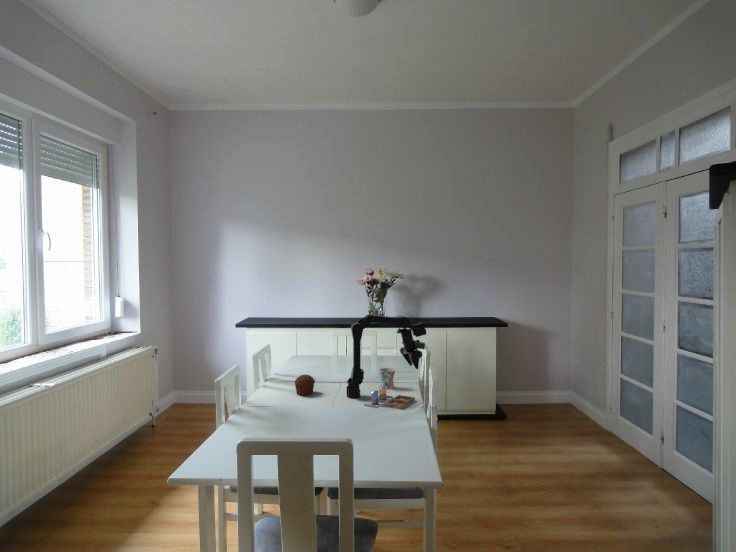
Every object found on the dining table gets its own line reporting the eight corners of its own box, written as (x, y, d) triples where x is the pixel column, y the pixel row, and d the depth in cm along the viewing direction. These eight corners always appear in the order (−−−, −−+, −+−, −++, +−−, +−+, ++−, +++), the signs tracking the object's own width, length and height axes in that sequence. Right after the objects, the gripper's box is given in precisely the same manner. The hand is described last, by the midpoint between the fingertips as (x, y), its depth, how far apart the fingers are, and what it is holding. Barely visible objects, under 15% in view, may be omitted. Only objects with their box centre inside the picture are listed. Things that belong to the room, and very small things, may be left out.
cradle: (364, 407, 225) (363, 403, 225) (381, 397, 241) (381, 394, 241) (376, 409, 222) (376, 406, 222) (393, 399, 237) (393, 396, 237)
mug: (378, 386, 262) (378, 368, 262) (394, 385, 263) (394, 367, 263) (380, 392, 250) (380, 373, 250) (397, 391, 251) (397, 372, 251)
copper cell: (378, 400, 234) (378, 386, 234) (381, 398, 237) (381, 384, 237) (384, 401, 232) (384, 387, 232) (387, 399, 236) (387, 385, 235)
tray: (384, 408, 224) (384, 403, 224) (399, 399, 238) (399, 394, 238) (401, 411, 219) (401, 406, 219) (415, 401, 233) (414, 397, 233)
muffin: (311, 397, 243) (310, 378, 242) (291, 396, 245) (291, 377, 245) (317, 390, 254) (317, 373, 254) (299, 389, 257) (298, 372, 256)
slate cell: (369, 404, 227) (369, 390, 227) (373, 402, 230) (373, 389, 230) (376, 405, 225) (376, 391, 225) (379, 403, 228) (379, 390, 228)
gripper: (428, 337, 236) (434, 366, 237) (415, 333, 254) (421, 359, 255) (408, 343, 233) (415, 372, 234) (396, 338, 251) (403, 365, 252)
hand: (414, 367), depth 244 cm, fingers open, 9 cm apart
